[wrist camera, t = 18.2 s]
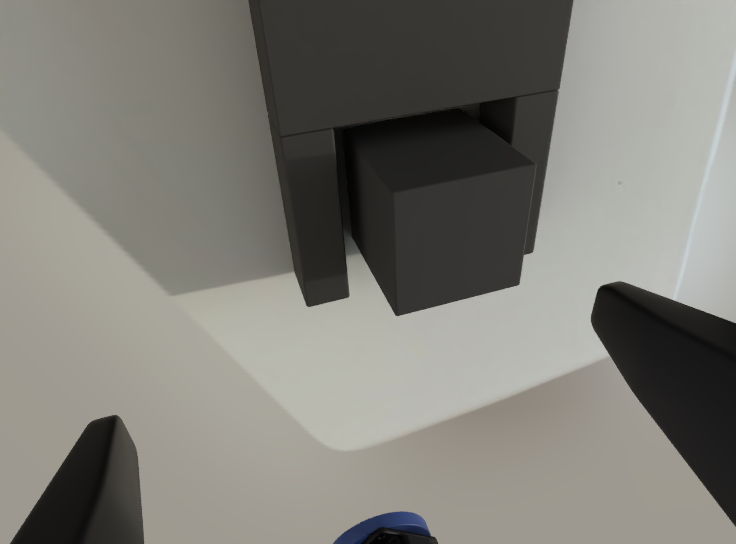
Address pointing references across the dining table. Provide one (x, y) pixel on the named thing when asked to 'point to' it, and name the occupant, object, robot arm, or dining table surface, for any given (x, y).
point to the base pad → (396, 94)
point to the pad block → (437, 207)
